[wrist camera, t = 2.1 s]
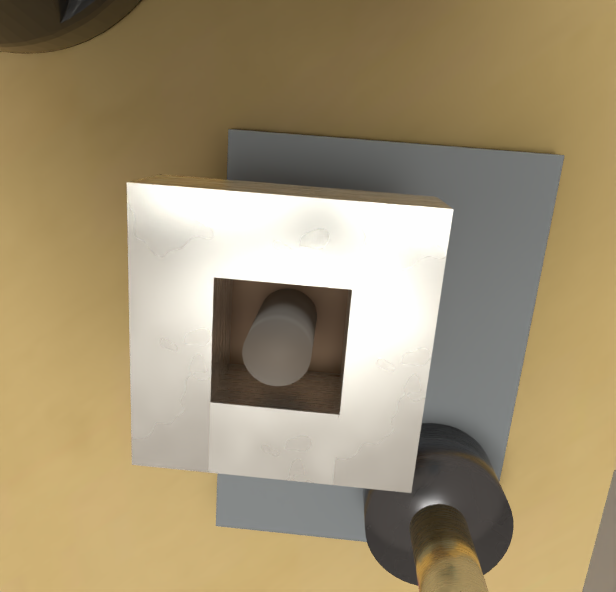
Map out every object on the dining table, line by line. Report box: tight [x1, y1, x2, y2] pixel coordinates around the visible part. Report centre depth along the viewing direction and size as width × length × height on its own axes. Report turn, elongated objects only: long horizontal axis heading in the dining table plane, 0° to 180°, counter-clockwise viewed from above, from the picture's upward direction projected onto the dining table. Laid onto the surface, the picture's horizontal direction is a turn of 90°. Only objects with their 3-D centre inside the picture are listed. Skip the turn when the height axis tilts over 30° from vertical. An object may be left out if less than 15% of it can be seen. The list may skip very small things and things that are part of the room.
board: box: [216, 129, 564, 542], centre depth 27 cm, size 20×14×1 cm
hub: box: [363, 423, 513, 592], centre depth 24 cm, size 6×6×8 cm
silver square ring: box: [127, 174, 453, 493], centre depth 18 cm, size 9×9×3 cm
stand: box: [229, 279, 349, 386], centre depth 21 cm, size 6×6×10 cm
